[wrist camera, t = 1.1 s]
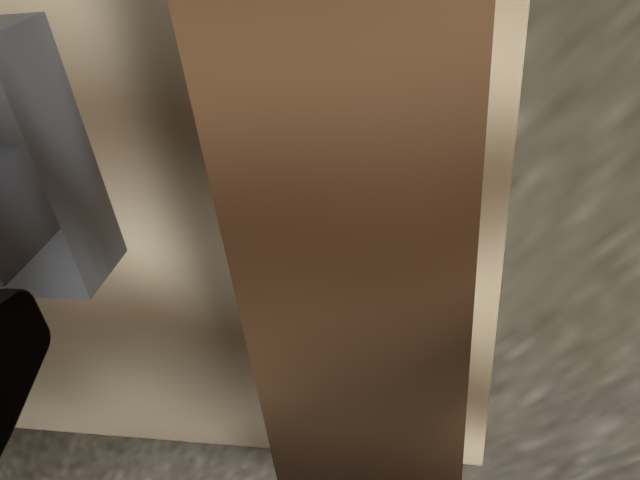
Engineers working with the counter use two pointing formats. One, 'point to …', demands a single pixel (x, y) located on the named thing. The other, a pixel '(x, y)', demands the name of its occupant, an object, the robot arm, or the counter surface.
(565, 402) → the counter surface
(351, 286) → the walnut bar
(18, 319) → the robot arm
